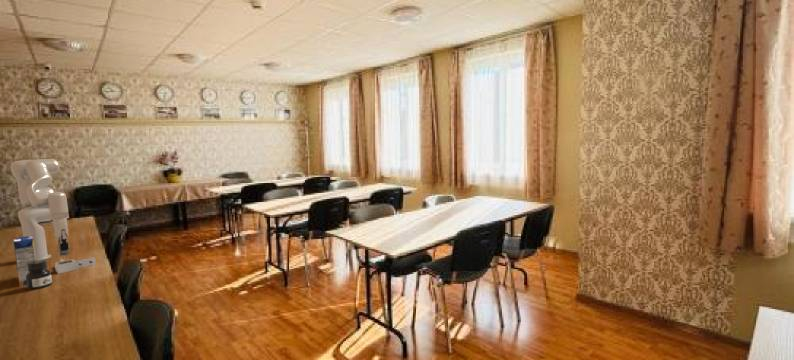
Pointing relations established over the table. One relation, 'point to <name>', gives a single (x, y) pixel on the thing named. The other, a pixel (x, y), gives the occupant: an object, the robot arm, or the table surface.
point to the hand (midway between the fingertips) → (63, 249)
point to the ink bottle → (38, 275)
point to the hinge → (73, 264)
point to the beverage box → (24, 256)
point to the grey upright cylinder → (62, 251)
